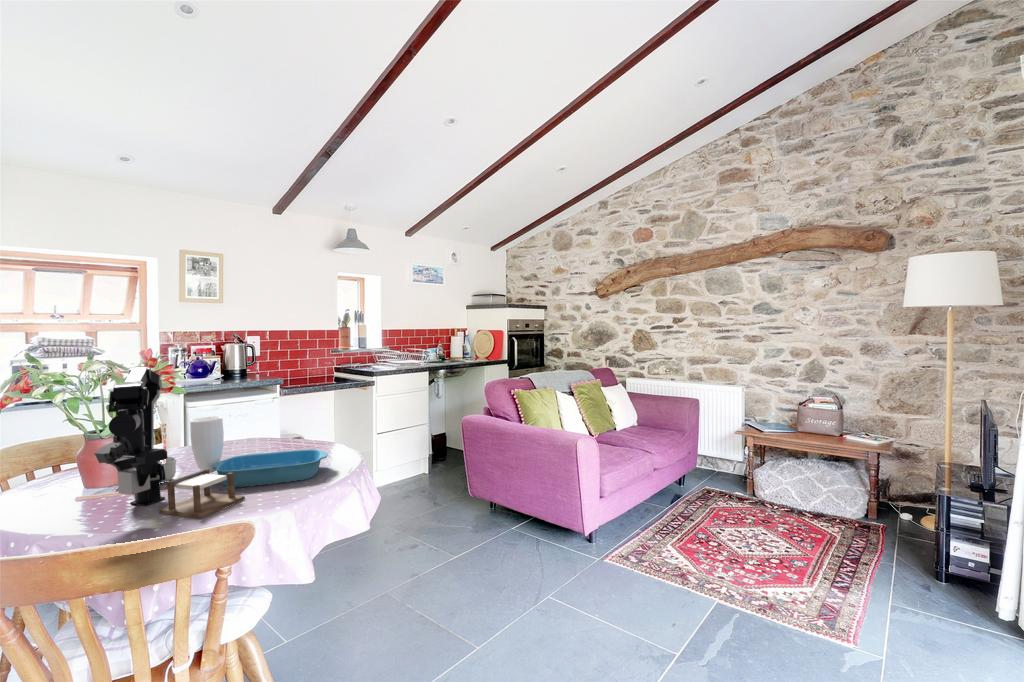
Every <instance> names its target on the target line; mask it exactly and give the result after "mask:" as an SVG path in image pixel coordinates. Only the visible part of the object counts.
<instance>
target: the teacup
mask: <svg viewBox="0 0 1024 682" xmlns="http://www.w3.org/2000/svg"><path fill="white" fill-rule="evenodd" d="M167 457H168V458H167V459H166V463H165V464H162V465H163V466H164V468H165V474H166V480H163V481H162V482H165V481H169V480H170V481H172V480H173V479H174V477H175V475H176V471H177V458H176V457H174V456H167ZM158 476H159V475H158ZM158 476H157V477H158ZM159 483H161V482H159Z"/></svg>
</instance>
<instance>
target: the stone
mask: <svg viewBox="0 0 1024 682" xmlns="http://www.w3.org/2000/svg"><path fill="white" fill-rule="evenodd" d="M117 485H118V494H121V495H131V496H133V495H135V494H136V493H139V492H142V491H145V490H148V489H150V474H149V476H148V478H147V480H146V482H145V484H144V486H141V487H140V486H139V483H138V478H137V472H136V468H134V467H132V468H129V469H125V470H122V471H118V470H117Z"/></svg>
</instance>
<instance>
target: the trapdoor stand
mask: <svg viewBox="0 0 1024 682" xmlns="http://www.w3.org/2000/svg"><path fill="white" fill-rule="evenodd" d="M205 474H211V473H209V469H205V470H202V471H200V470H199V471H196V472H194V473H190V474H186V475H184V476H182V477H181V476H180V477H178V478H175V479H171V480H170V481H169V482H167V483H166V487H167V488H166V489H167V501H168V502H167V503H168V504H167V505H168V506H166V507H163V508H160V509H158V512H159V514H161V513H163V515H170V514H172V516H179V515H180V517H189V518H199V519H203V518H206V517H209V516H210V515H212V513H213V514H215V513H216V512H219V510H220V511H221V509H222V510H224V509H226V508H228V507H227V506H229V507H231V506H233V505H235V504H234V503H236V504H238V503H240V502H242V501H244V500H243V499H245V500H246V497H245V496H244V495H235V494H236V493H235V492H236V491H235V487H234V473H228V474H227V477H228V486H227V493H228V494H225V493H224V494H223V493H213V492H211V486H208V487H205V488H203V492H201V489H200V485H195V486H193V490H192V495H193V496H191V497H189V498H187V499H184V500H181V501H178V502H176V493H175V491H176V490H175V485H176V484H179V483H181V482H184V481H187V480H190V479H193V478H196V477H199V476H202V475H205ZM241 500H242V501H241ZM239 501H240V502H239ZM237 502H238V503H237ZM232 504H233V505H232ZM230 505H231V506H230ZM225 507H226V508H225ZM223 508H224V509H223Z"/></svg>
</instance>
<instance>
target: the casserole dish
mask: <svg viewBox="0 0 1024 682" xmlns="http://www.w3.org/2000/svg"><path fill="white" fill-rule="evenodd" d="M328 455H329V453H328V452H327V451H322V450H321V449H316V448H315V449H297V450H296V449H295V450H286V451H285V450H283V451H272V452H261V453H252V454H242V455H236V456H235V455H234V456H231V457H228V458H225V459H223V460H220V462H217V463H215V464H214V465H213V466H212V468H213V469H216V470H217V471H216V472H217V475H226V476H227V474H228V473H234V488H244V487H245V488H246V486H248V487H256V486H255V485H258V486H266V485H265V484H268V485H274V484H273V483H277V484H282V483H281V482H286V483H291V482H290V481H294V482H298V481H297V480H301V481H304V480H303V479H306V480H309V479H308V478H310V479H312V478H313V477H314V476H316V474H317V473H318V470H319V468H320V465H321V460H325V459H327V457H328ZM311 477H312V478H311ZM220 483H222V485H224V486H226V487H228V477H227V480H224V481H221V482H220Z"/></svg>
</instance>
